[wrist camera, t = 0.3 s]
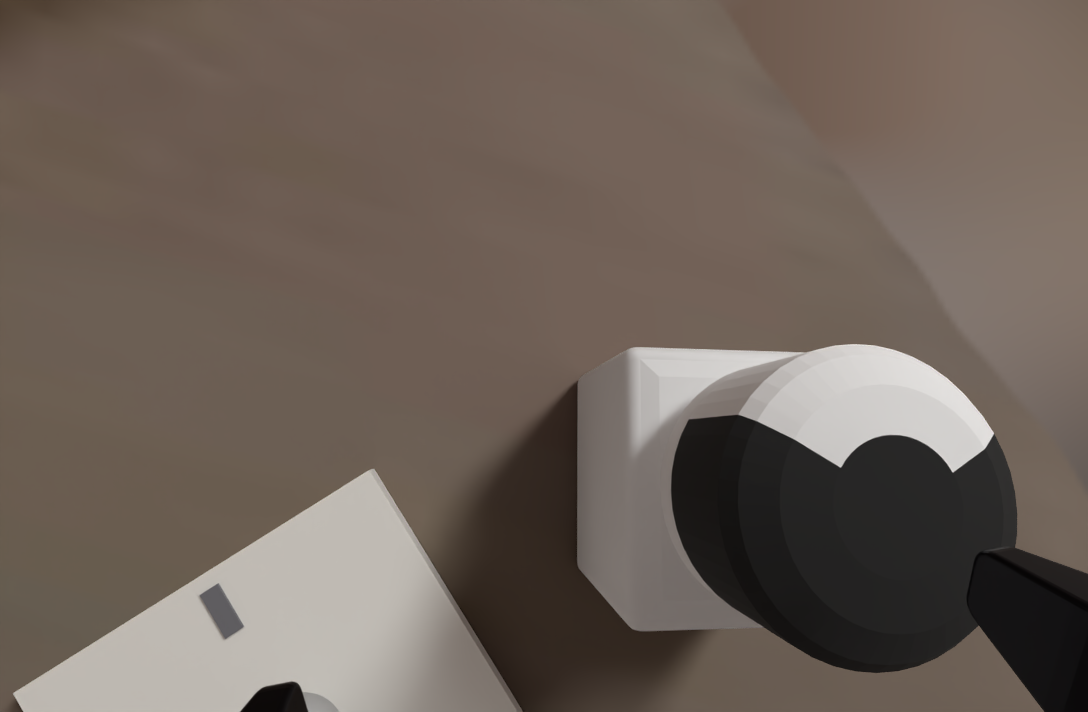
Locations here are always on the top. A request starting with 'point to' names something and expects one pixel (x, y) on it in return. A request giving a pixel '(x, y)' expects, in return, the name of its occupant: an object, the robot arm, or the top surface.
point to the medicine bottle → (789, 498)
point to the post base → (295, 628)
